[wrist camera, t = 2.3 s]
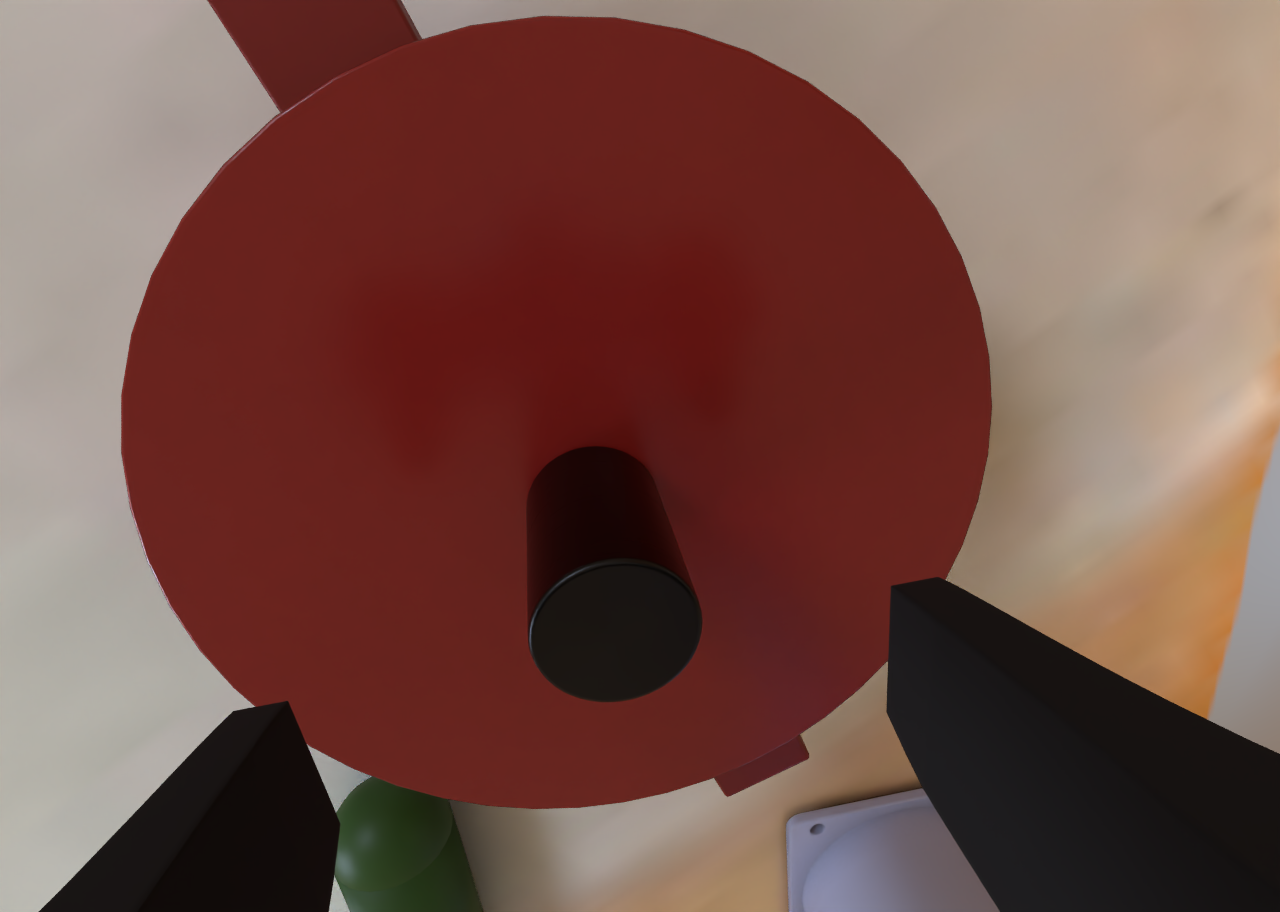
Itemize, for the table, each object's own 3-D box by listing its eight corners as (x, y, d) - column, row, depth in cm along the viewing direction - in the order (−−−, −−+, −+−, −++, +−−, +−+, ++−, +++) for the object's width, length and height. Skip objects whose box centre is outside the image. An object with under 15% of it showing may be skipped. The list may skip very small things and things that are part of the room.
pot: (663, -219, 14) (732, -384, 9) (942, 564, 22) (1047, 674, 18) (12, 157, 14) (-213, 171, 10) (520, 769, 23) (520, 923, 19)
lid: (811, -181, 11) (1017, -398, 6) (1032, 585, 17) (1209, 745, 13) (-73, 319, 12) (-440, 440, 7) (457, 862, 18) (437, 1099, 14)
